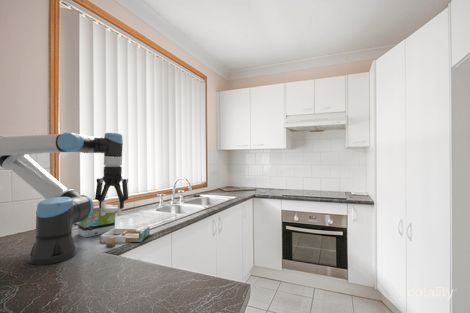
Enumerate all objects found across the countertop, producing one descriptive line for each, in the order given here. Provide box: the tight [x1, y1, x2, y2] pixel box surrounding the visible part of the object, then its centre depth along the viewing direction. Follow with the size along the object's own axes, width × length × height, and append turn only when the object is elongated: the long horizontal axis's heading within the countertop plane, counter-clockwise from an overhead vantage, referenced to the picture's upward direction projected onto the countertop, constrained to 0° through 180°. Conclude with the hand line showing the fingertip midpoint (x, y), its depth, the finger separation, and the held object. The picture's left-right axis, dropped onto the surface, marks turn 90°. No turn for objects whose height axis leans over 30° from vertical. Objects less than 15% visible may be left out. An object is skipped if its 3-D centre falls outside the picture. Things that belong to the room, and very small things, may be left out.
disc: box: [103, 205, 118, 213], centre depth 112 cm, size 7×7×2 cm
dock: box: [99, 227, 137, 244], centre depth 122 cm, size 14×12×3 cm
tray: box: [118, 226, 151, 243], centre depth 122 cm, size 13×12×4 cm
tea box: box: [77, 203, 116, 238], centre depth 130 cm, size 15×10×15 cm, turn 143°
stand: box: [105, 237, 116, 248], centre depth 111 cm, size 4×4×4 cm
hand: (111, 215), depth 111 cm, fingers closed on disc, 7 cm apart
